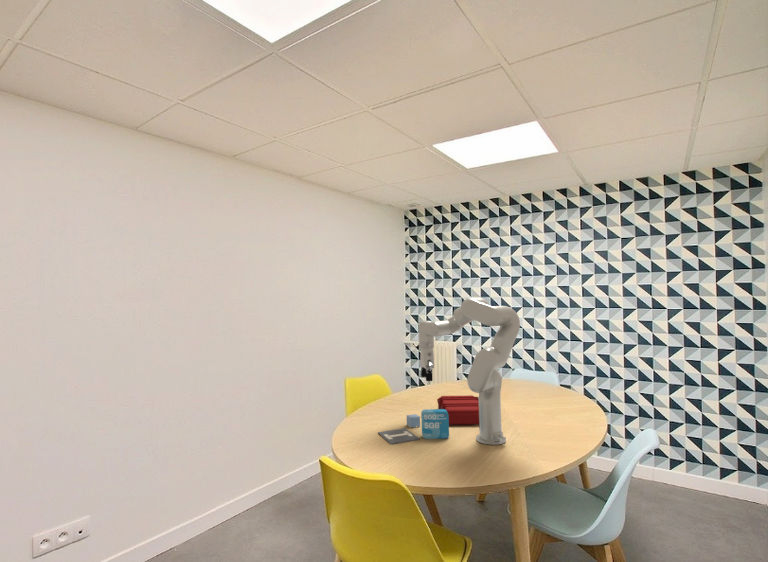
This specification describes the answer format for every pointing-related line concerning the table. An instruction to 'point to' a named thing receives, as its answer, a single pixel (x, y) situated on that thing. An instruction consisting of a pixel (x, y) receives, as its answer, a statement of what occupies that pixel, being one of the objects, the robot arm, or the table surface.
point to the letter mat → (398, 436)
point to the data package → (435, 423)
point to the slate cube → (413, 420)
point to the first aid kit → (460, 409)
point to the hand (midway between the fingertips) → (426, 378)
